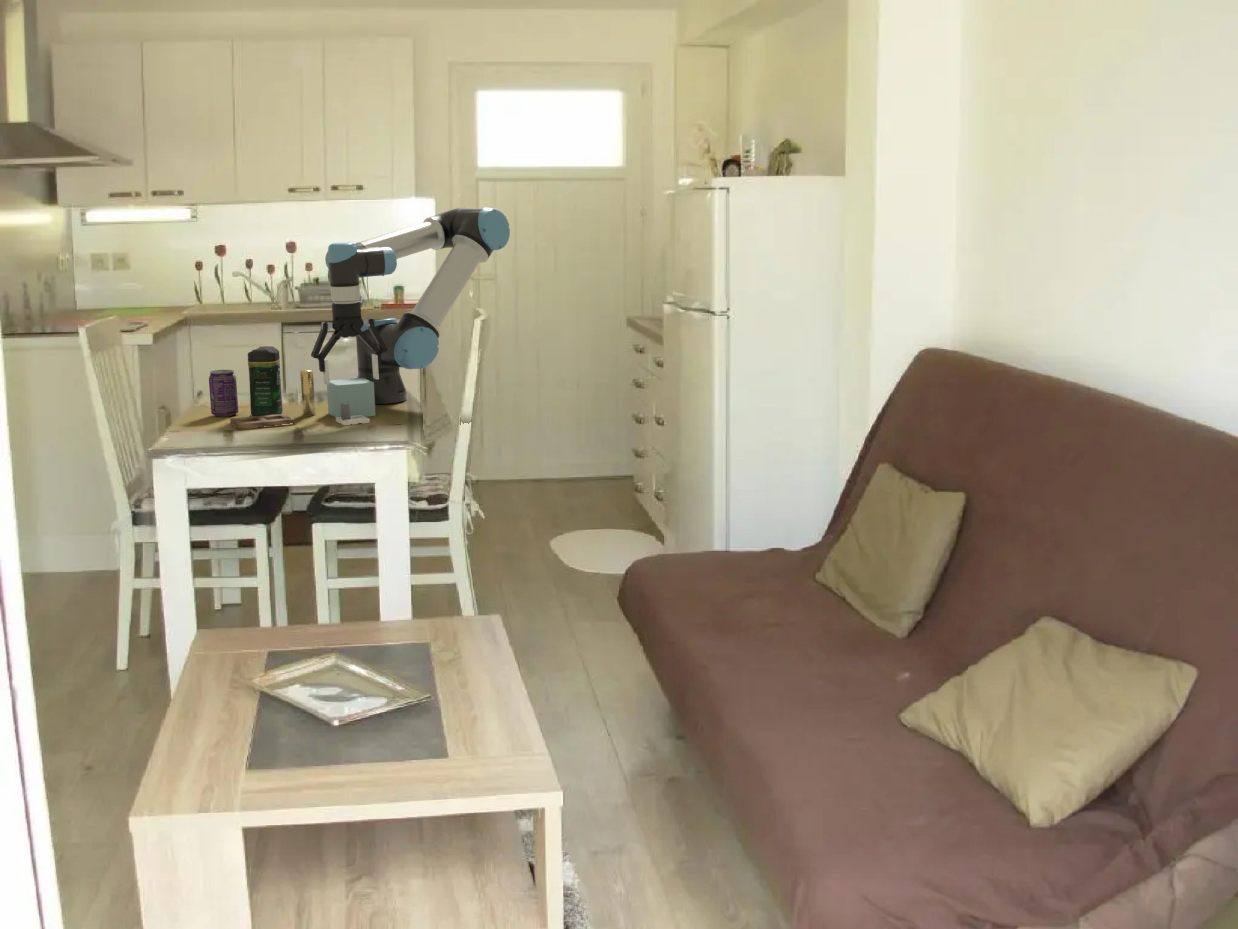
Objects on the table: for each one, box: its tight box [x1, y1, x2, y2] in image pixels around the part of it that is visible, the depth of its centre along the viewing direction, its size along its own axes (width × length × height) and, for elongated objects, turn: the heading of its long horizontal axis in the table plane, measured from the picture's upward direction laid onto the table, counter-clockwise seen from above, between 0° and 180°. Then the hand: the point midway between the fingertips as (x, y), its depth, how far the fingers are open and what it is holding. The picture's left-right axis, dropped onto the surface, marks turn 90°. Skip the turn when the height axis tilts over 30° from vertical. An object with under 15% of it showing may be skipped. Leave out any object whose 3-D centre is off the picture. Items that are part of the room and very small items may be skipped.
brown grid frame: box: [229, 413, 295, 430], centre depth 357 cm, size 14×10×1 cm
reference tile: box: [335, 403, 371, 426], centre depth 359 cm, size 7×7×5 cm
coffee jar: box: [247, 345, 284, 417], centre depth 369 cm, size 10×8×19 cm
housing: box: [326, 377, 376, 418], centre depth 369 cm, size 10×10×9 cm
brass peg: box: [299, 369, 316, 417], centre depth 370 cm, size 3×3×12 cm
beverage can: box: [208, 369, 239, 418], centre depth 370 cm, size 7×7×12 cm
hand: (351, 381), depth 369 cm, fingers open, 13 cm apart
